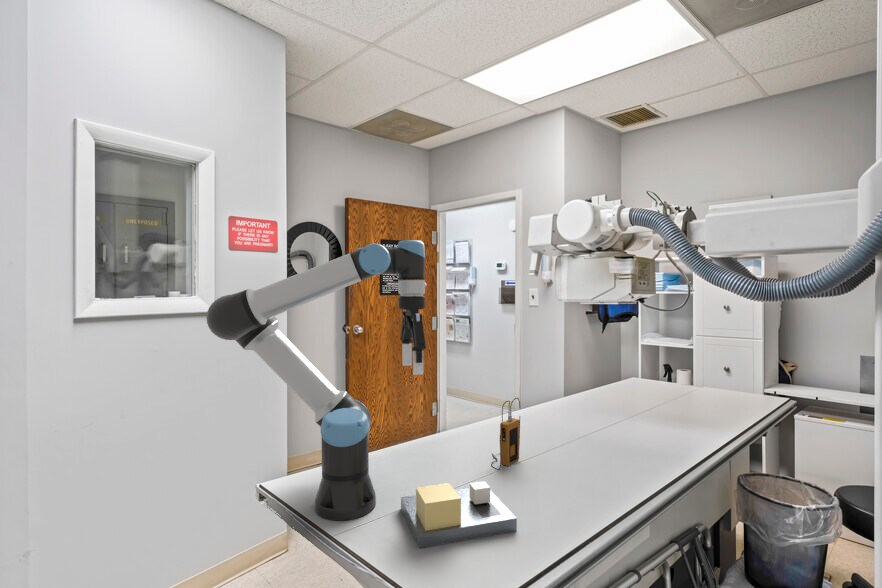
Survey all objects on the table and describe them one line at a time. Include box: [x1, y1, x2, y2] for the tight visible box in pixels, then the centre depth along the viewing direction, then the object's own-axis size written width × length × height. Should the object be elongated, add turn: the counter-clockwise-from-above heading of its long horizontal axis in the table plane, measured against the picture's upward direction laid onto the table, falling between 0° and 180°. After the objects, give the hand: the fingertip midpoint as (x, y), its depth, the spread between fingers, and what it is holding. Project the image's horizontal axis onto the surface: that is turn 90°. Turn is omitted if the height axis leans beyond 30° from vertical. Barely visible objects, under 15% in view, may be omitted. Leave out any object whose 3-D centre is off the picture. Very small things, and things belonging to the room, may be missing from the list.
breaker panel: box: [400, 486, 518, 549], centre depth 112 cm, size 23×18×3 cm
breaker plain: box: [469, 480, 491, 504], centre depth 115 cm, size 4×4×4 cm
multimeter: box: [490, 397, 521, 471], centre depth 149 cm, size 15×10×20 cm
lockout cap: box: [415, 482, 461, 531], centre depth 107 cm, size 8×8×6 cm
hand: (412, 369), depth 134 cm, fingers open, 13 cm apart
